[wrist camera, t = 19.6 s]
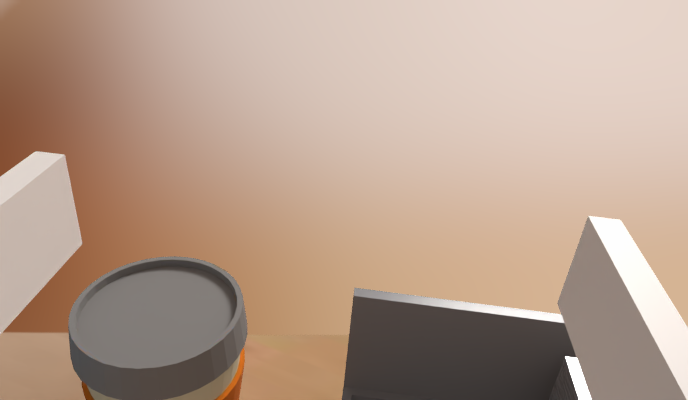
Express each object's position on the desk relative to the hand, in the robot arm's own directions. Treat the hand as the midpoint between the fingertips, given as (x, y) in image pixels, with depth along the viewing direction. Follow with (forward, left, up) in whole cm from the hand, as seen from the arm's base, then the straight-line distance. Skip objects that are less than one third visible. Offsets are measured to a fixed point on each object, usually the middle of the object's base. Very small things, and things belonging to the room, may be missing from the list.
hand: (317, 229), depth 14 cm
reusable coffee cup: (-13, +18, -35) cm, 41 cm away
